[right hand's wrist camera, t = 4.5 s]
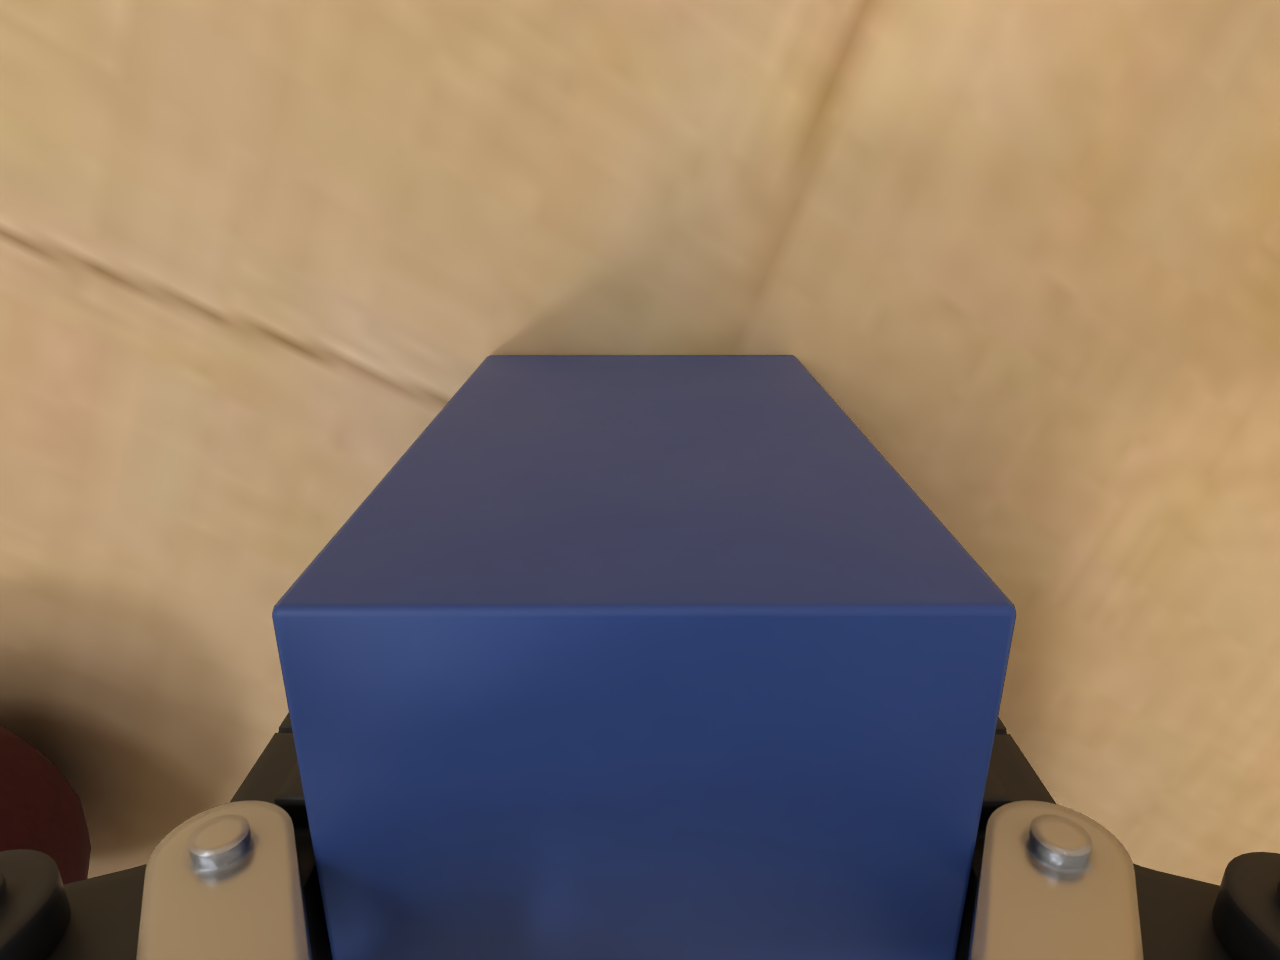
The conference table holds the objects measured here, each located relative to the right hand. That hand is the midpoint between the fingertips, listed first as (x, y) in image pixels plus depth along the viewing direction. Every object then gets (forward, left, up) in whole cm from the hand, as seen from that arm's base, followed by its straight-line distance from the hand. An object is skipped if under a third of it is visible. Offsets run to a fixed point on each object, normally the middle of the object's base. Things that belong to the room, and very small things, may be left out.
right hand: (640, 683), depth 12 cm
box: (+8, 0, -6) cm, 10 cm away
